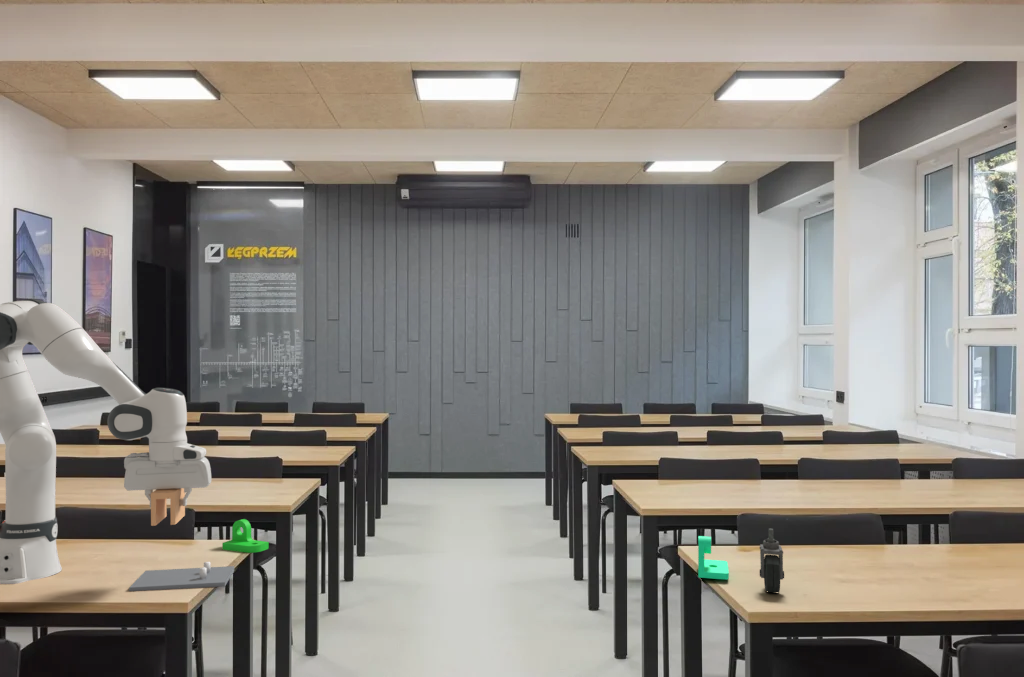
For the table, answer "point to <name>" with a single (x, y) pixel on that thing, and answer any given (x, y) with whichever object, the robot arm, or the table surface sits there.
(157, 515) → the arch block
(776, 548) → the caster wheel
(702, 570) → the camera mount
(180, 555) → the table surface
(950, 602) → the table surface
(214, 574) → the plate
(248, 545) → the mechanical part
